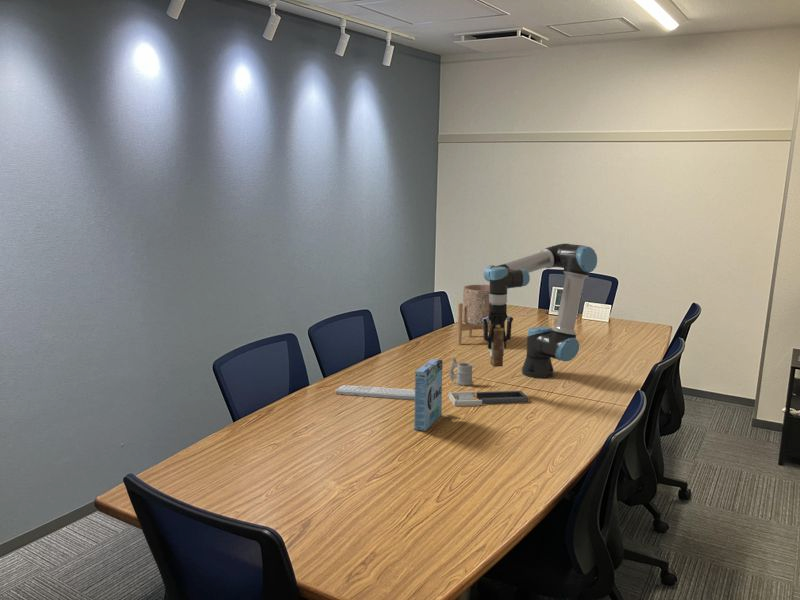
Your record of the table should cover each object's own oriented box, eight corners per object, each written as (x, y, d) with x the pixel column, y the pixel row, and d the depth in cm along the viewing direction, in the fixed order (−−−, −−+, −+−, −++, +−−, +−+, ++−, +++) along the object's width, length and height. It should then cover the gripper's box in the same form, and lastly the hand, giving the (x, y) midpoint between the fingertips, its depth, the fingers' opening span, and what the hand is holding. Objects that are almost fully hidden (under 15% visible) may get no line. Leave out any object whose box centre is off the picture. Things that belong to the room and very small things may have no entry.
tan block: (499, 362, 294) (500, 326, 291) (502, 366, 289) (503, 328, 286) (490, 363, 294) (491, 326, 290) (493, 366, 289) (494, 329, 285)
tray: (474, 397, 289) (474, 391, 288) (481, 407, 277) (482, 400, 276) (448, 398, 287) (448, 392, 286) (454, 408, 275) (455, 401, 275)
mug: (467, 389, 301) (468, 363, 298) (445, 384, 307) (445, 358, 305) (475, 384, 307) (476, 359, 304) (453, 380, 313) (454, 355, 311)
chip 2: (470, 400, 284) (470, 392, 284) (472, 403, 280) (473, 395, 280) (463, 400, 284) (463, 392, 283) (465, 403, 280) (466, 395, 279)
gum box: (425, 431, 250) (427, 372, 246) (413, 429, 252) (414, 371, 247) (442, 414, 268) (443, 359, 263) (430, 413, 269) (431, 358, 265)
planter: (494, 349, 371) (496, 292, 365) (456, 344, 380) (457, 289, 374) (505, 340, 391) (507, 286, 385) (468, 336, 400) (469, 283, 394)
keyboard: (438, 393, 295) (438, 388, 295) (435, 402, 283) (435, 397, 283) (341, 386, 302) (341, 381, 302) (334, 395, 290) (334, 390, 290)
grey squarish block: (463, 400, 284) (463, 392, 283) (465, 403, 280) (466, 395, 279) (456, 400, 283) (456, 392, 283) (458, 403, 279) (459, 395, 279)
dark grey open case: (520, 397, 291) (521, 390, 290) (528, 404, 281) (528, 397, 281) (476, 398, 288) (476, 392, 287) (482, 406, 278) (482, 399, 278)
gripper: (514, 300, 291) (512, 352, 296) (476, 302, 288) (475, 354, 293) (519, 304, 284) (518, 357, 288) (481, 305, 281) (480, 359, 286)
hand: (496, 355), depth 291 cm, fingers closed on tan block, 4 cm apart
